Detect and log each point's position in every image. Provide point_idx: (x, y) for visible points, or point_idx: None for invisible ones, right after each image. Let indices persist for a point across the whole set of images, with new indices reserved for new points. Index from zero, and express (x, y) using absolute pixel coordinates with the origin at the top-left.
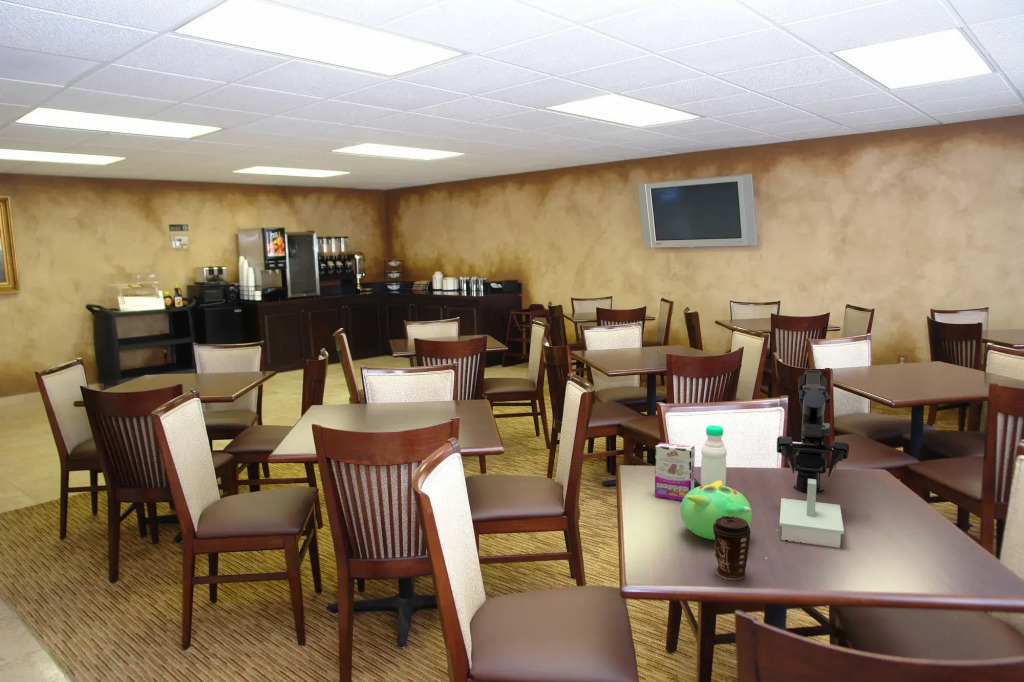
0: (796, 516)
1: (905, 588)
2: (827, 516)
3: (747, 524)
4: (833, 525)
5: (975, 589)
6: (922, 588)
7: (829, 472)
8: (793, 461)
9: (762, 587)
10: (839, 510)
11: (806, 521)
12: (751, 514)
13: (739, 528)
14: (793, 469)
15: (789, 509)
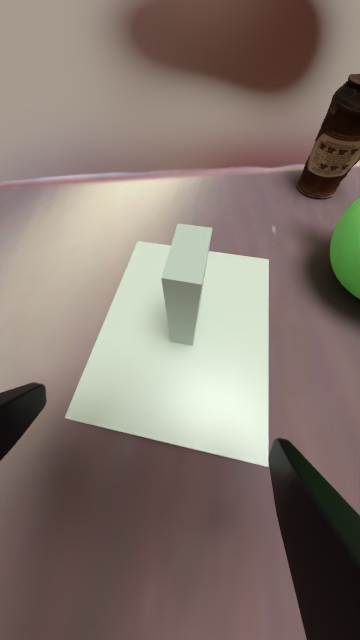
0: (226, 300)
1: (108, 187)
2: (145, 310)
3: (348, 87)
4: (149, 263)
5: (24, 194)
6: (87, 189)
7: (20, 393)
8: (348, 540)
9: (273, 172)
10: (91, 360)
11: (206, 275)
12: (346, 225)
13: (357, 74)
14: (291, 450)
15: (242, 346)
